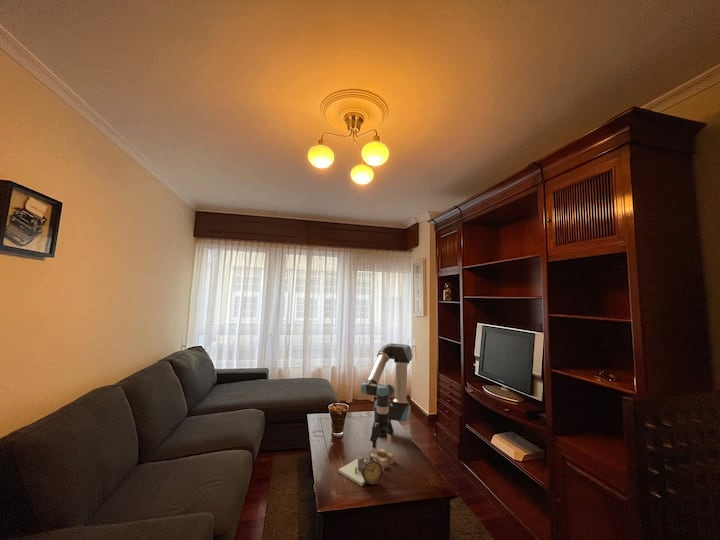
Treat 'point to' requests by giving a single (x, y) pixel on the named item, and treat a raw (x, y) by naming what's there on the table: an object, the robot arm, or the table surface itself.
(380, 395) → the robot arm
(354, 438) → the table surface
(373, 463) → the alarm clock
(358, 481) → the post board
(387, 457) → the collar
